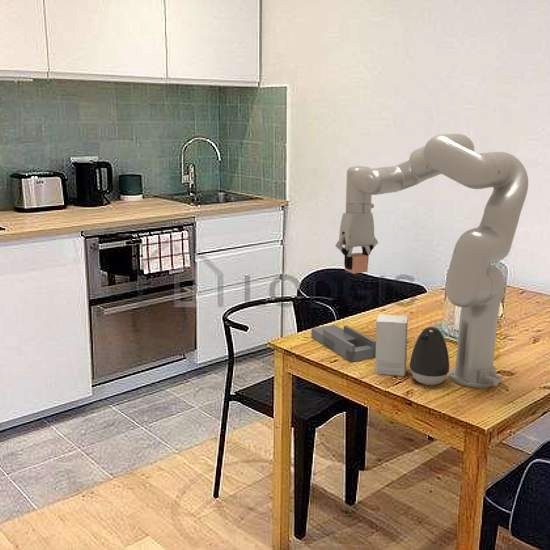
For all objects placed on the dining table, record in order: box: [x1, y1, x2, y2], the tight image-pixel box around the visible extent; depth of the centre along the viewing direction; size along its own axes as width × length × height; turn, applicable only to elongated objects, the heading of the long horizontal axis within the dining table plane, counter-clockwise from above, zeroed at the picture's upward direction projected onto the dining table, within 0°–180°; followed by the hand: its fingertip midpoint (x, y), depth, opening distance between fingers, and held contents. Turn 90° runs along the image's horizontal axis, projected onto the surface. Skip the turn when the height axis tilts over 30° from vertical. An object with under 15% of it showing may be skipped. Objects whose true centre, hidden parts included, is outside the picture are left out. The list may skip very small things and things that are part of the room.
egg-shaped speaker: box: [409, 326, 450, 386], centre depth 170 cm, size 10×10×15 cm
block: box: [344, 252, 369, 275], centre depth 196 cm, size 5×5×5 cm
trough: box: [310, 324, 376, 363], centre depth 195 cm, size 23×8×5 cm, turn 27°
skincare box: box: [374, 313, 409, 377], centre depth 176 cm, size 8×7×16 cm
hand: (356, 267), depth 197 cm, fingers closed on block, 4 cm apart
